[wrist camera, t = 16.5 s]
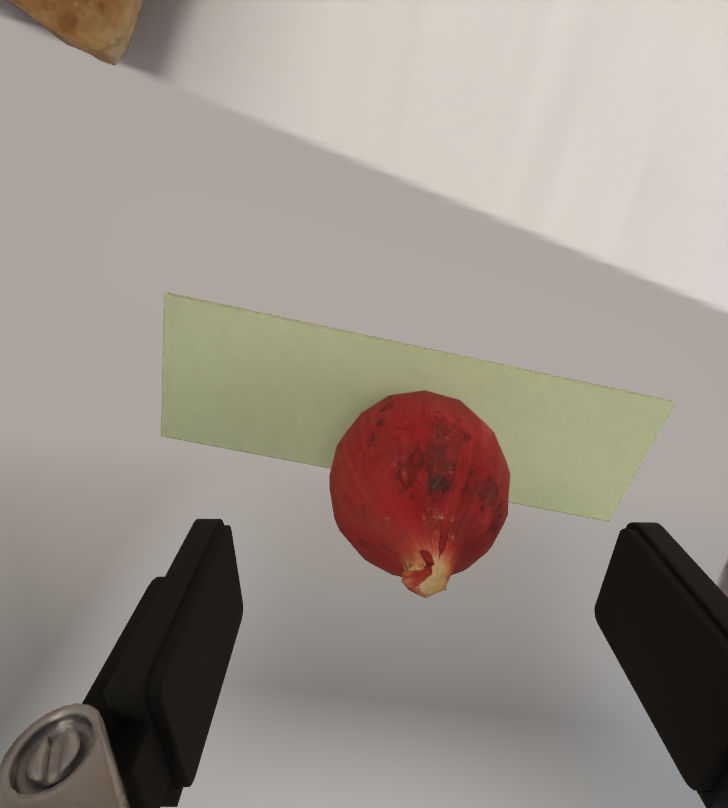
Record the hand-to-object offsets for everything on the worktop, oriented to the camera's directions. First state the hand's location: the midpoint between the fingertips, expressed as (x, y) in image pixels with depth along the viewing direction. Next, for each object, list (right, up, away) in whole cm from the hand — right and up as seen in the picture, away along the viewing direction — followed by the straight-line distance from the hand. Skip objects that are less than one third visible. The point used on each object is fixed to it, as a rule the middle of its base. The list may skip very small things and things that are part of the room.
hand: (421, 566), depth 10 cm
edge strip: (0, +3, +7) cm, 8 cm away
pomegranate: (0, +3, +7) cm, 8 cm away
